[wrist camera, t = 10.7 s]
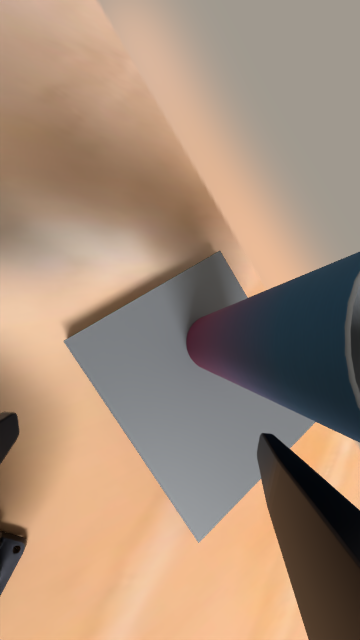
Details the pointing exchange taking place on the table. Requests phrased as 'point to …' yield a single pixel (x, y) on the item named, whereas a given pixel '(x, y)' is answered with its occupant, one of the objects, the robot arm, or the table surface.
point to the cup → (293, 345)
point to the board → (183, 395)
